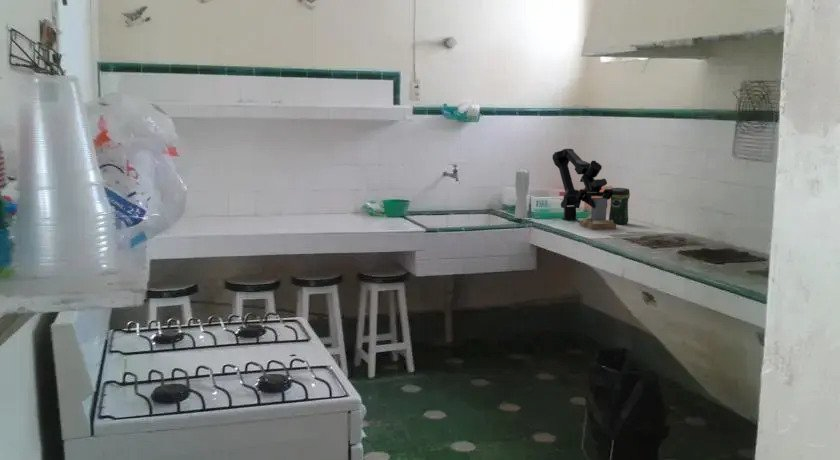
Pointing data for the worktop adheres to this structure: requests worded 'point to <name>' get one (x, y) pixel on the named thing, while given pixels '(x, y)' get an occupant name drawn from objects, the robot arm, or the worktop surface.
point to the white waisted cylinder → (522, 194)
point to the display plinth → (598, 224)
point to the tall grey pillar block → (599, 209)
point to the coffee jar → (619, 206)
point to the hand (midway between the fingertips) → (600, 207)
